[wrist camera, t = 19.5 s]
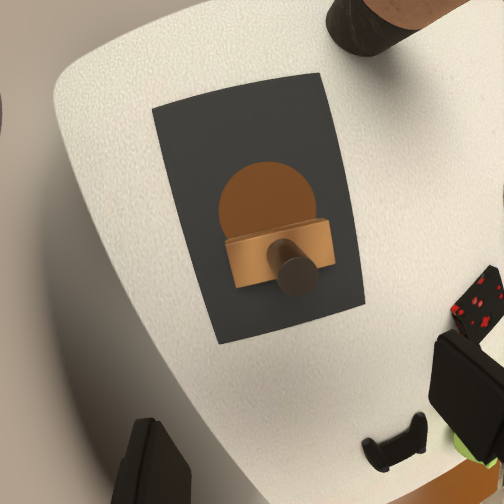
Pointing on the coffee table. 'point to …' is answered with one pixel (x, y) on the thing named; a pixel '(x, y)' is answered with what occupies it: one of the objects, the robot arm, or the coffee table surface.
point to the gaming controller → (398, 446)
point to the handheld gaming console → (480, 306)
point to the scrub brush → (282, 256)
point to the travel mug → (381, 22)
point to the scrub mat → (259, 195)
